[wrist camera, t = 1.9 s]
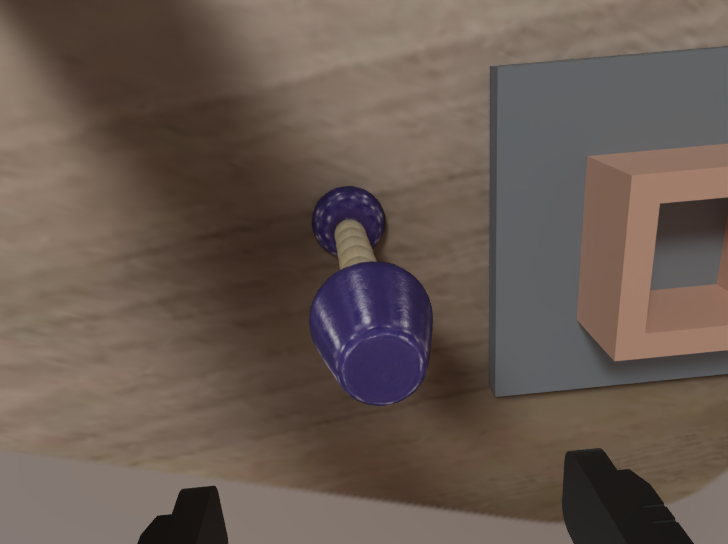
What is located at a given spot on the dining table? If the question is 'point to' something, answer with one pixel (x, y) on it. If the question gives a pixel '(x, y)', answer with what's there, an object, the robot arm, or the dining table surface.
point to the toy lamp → (367, 305)
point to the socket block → (608, 221)
